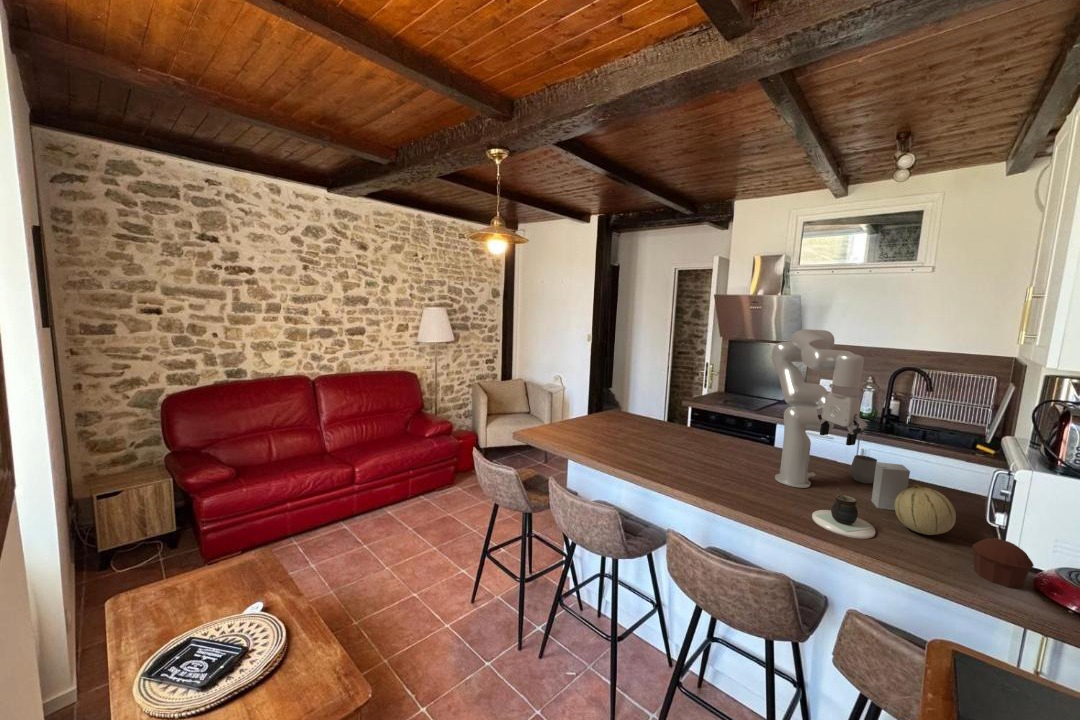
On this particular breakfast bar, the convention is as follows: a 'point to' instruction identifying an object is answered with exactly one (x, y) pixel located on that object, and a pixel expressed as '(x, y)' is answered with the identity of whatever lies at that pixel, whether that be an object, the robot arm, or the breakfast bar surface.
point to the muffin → (1001, 562)
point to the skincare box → (888, 484)
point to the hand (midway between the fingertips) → (836, 439)
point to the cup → (863, 469)
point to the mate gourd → (844, 509)
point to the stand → (843, 525)
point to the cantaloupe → (925, 510)
